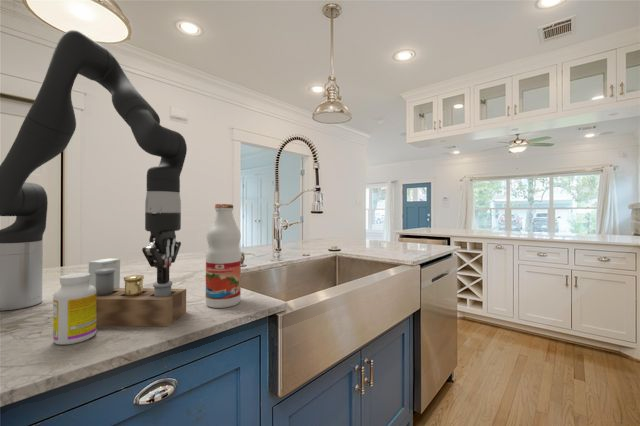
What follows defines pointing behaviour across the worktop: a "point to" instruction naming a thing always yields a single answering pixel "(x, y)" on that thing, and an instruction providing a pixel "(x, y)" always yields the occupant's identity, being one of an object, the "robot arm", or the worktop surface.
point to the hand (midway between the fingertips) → (163, 282)
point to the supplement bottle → (74, 309)
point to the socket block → (140, 308)
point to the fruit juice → (223, 260)
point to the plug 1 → (104, 281)
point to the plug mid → (133, 285)
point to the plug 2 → (162, 289)
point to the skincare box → (102, 265)
